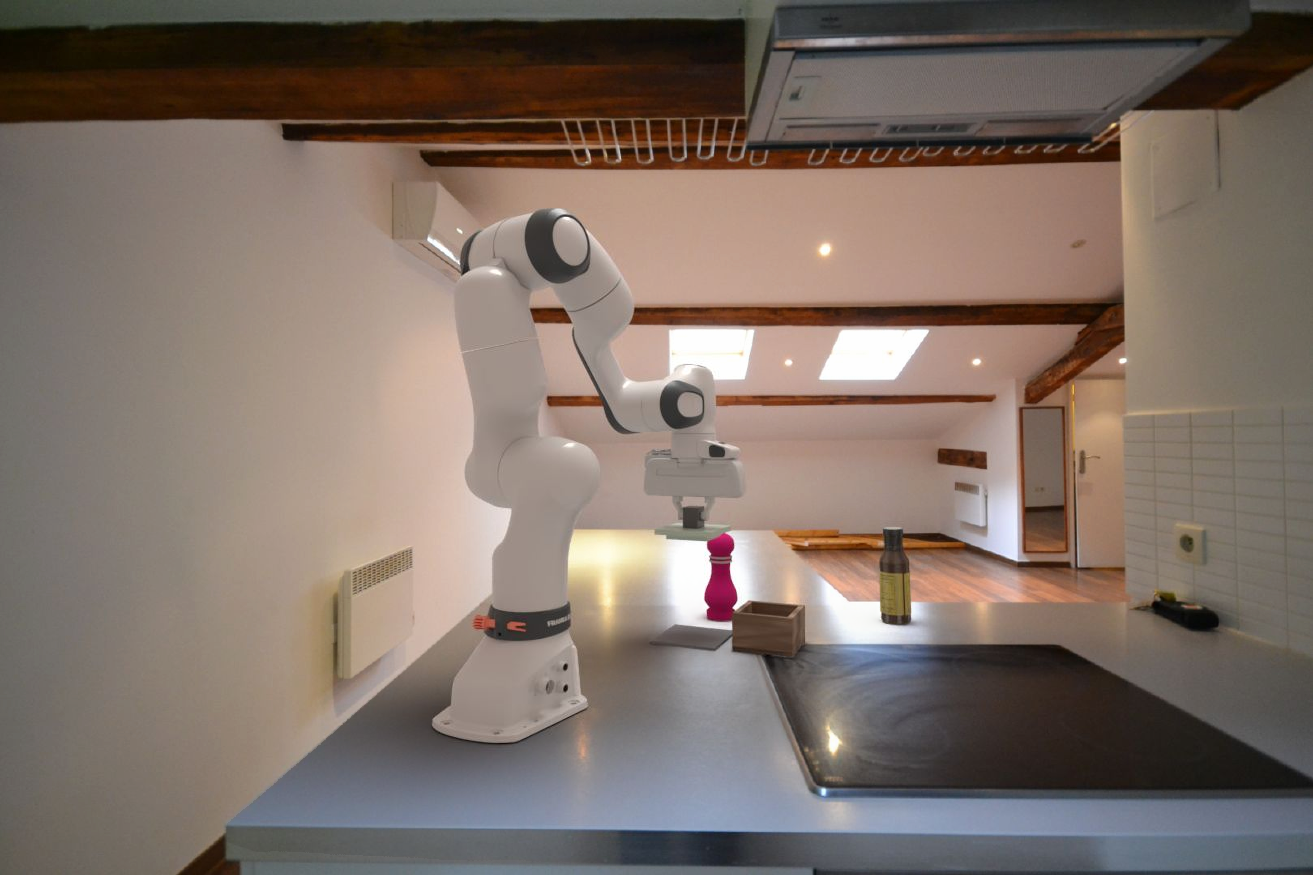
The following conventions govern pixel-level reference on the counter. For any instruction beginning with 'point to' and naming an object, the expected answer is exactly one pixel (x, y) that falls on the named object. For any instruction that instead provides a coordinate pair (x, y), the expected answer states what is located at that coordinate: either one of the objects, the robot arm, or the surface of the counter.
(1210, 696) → the counter surface
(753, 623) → the box
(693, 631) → the mat
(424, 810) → the counter surface
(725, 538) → the pepper mill
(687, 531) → the lid
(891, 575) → the sauce bottle
